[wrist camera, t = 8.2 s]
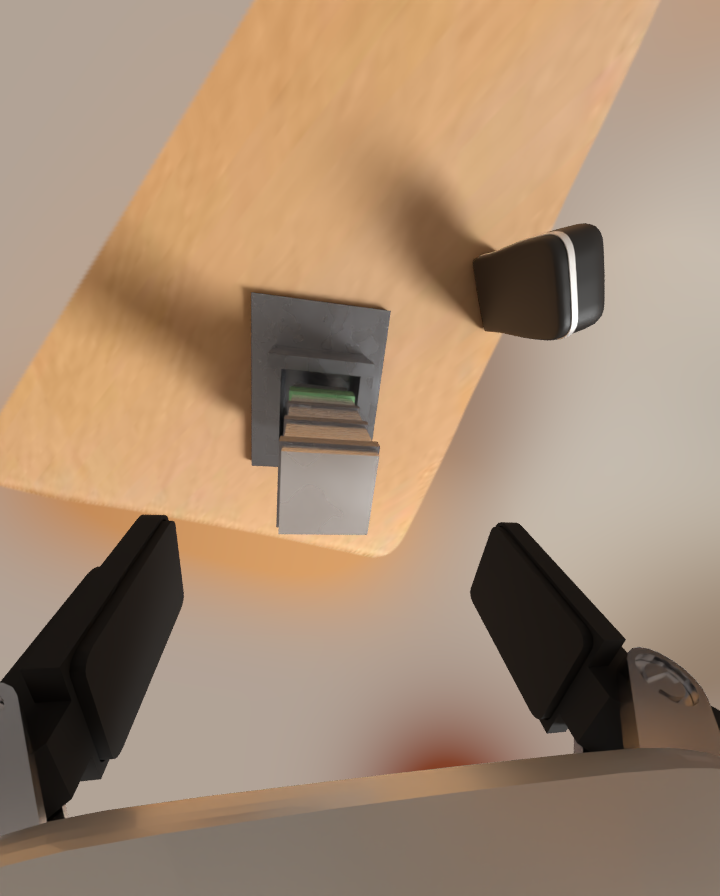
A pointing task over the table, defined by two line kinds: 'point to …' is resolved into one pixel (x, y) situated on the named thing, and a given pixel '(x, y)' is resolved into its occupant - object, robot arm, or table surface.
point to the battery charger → (543, 284)
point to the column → (325, 464)
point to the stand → (310, 360)
